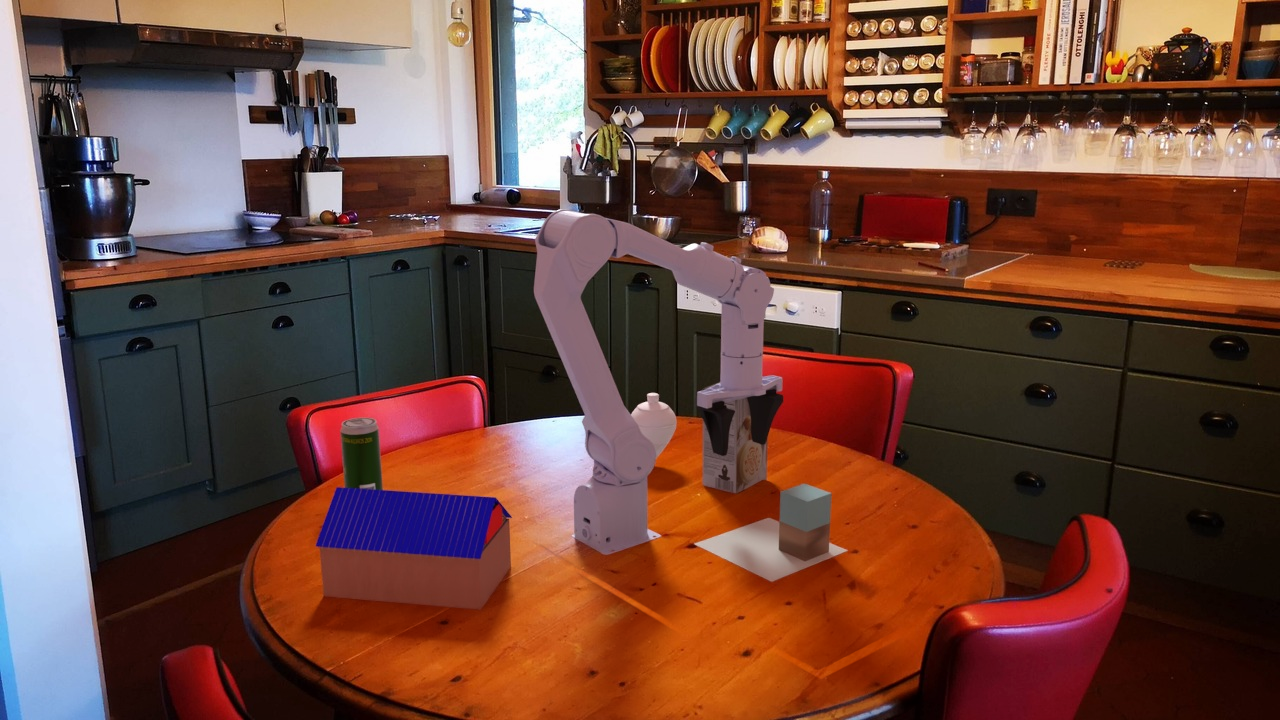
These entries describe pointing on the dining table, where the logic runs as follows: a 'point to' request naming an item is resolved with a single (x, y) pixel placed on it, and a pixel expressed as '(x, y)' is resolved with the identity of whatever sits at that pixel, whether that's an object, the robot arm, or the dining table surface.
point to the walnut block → (804, 541)
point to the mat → (761, 550)
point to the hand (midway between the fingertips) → (739, 448)
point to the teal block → (805, 507)
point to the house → (414, 547)
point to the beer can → (361, 454)
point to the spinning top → (655, 421)
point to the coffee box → (735, 454)
